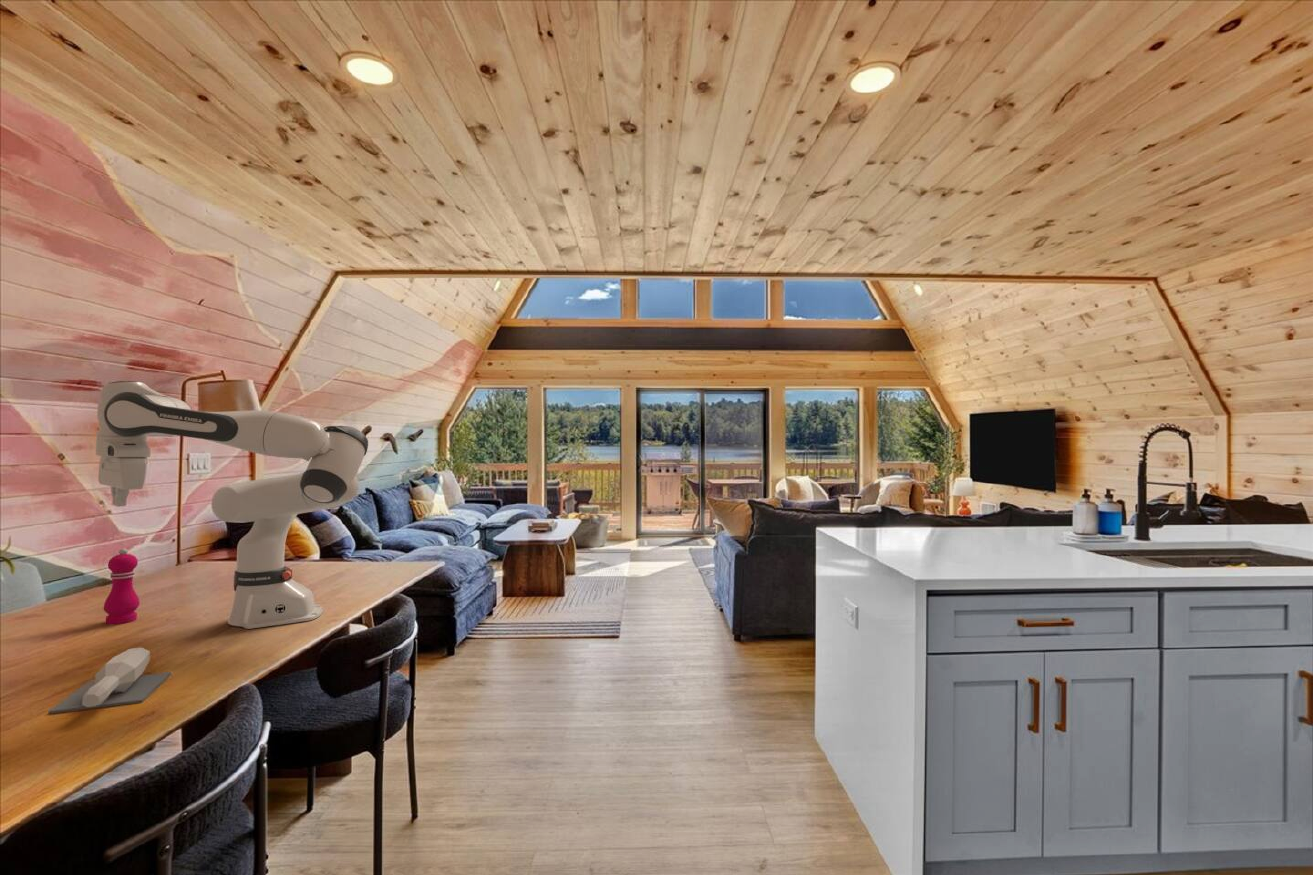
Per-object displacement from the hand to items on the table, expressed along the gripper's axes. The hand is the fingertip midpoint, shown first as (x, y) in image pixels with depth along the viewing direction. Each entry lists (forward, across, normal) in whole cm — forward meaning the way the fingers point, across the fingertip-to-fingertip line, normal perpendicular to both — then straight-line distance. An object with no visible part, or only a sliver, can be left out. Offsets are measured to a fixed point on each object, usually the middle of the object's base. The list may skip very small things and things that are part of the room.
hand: (119, 505), depth 136 cm
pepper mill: (+35, -25, +8) cm, 44 cm away
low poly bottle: (+30, +23, -2) cm, 38 cm away
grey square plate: (+34, +31, -7) cm, 47 cm away
